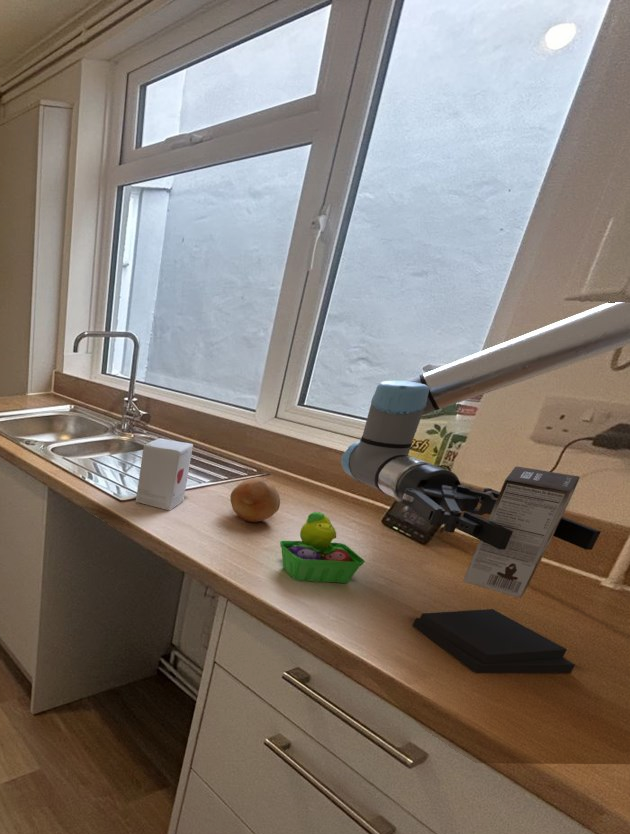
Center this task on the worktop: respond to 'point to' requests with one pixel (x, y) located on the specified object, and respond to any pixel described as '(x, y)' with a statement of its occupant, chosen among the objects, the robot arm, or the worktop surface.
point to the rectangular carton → (164, 473)
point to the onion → (255, 499)
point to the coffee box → (521, 529)
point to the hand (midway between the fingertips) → (549, 540)
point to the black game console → (493, 642)
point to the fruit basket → (319, 553)
